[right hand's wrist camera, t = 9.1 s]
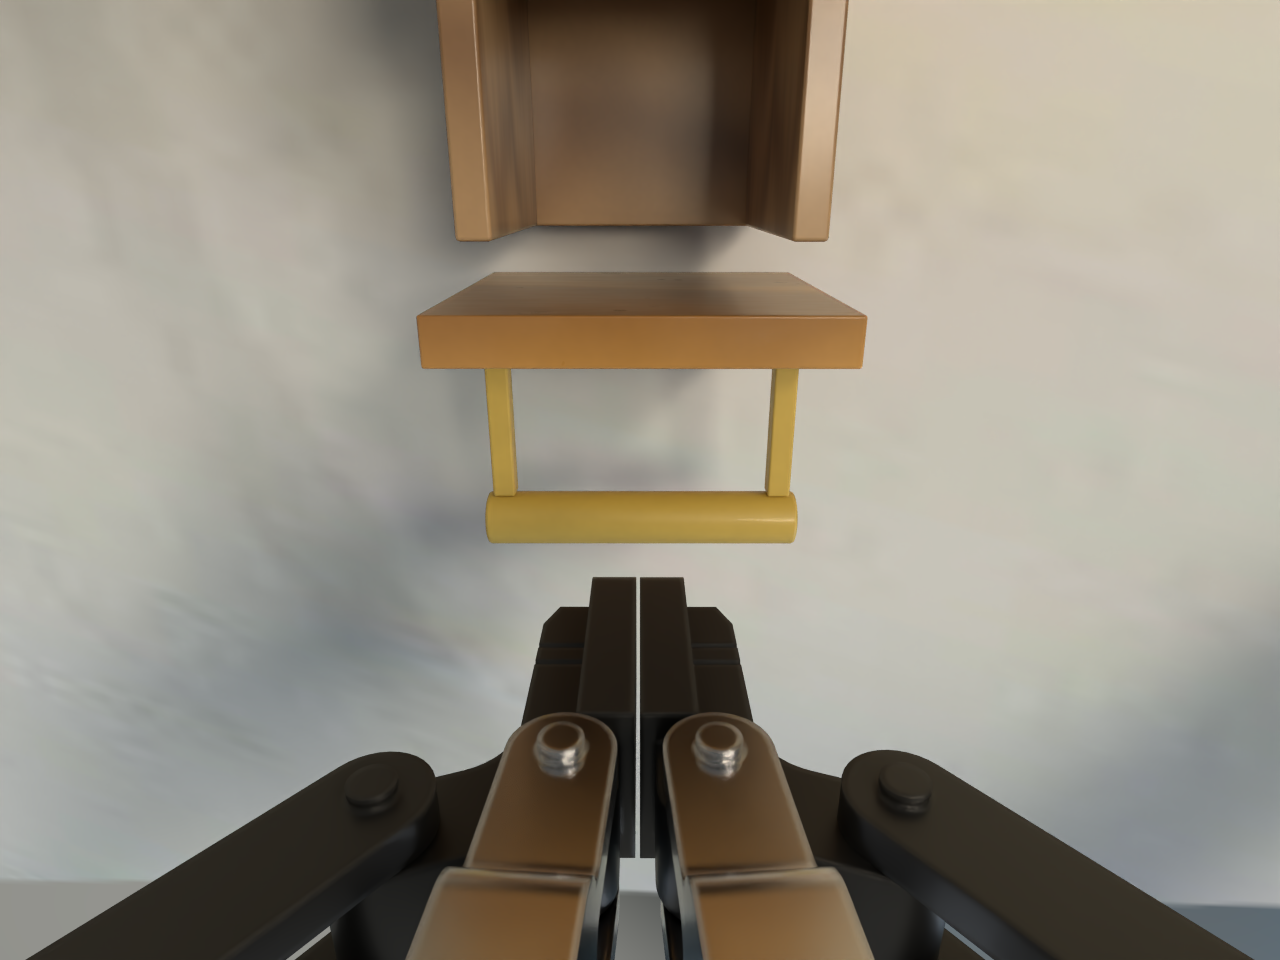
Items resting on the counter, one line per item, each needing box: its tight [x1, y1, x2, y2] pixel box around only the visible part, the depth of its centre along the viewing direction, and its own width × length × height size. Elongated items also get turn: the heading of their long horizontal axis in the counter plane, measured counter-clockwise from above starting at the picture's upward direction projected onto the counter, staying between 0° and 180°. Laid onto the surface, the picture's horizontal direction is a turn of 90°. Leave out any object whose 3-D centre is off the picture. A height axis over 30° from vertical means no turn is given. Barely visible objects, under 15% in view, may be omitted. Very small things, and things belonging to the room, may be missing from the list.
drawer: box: [416, 0, 867, 543], centre depth 20 cm, size 22×10×9 cm, turn 0°
